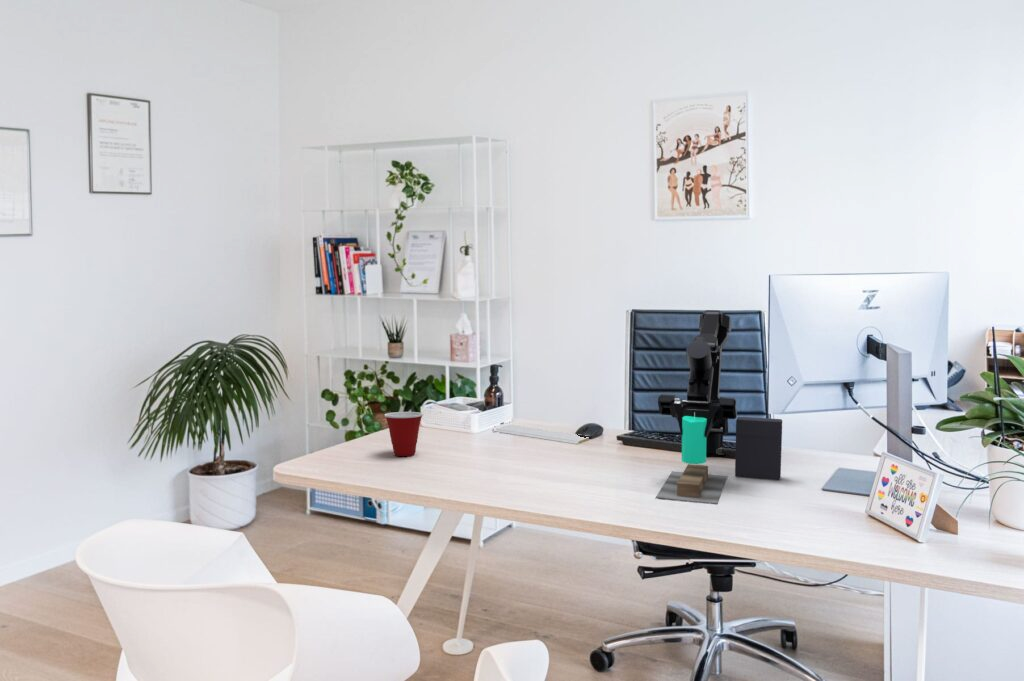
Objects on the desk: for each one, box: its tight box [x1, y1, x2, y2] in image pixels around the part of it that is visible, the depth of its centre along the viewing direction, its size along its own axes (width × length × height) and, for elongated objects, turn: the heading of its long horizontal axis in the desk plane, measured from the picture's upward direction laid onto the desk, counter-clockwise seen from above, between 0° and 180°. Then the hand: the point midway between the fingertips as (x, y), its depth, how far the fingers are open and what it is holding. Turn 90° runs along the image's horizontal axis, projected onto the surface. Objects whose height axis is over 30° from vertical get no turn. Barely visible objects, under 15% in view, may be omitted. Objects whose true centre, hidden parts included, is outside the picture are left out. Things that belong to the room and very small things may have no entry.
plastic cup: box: [384, 411, 424, 458], centre depth 245 cm, size 11×11×12 cm
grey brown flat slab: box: [655, 463, 728, 505], centre depth 212 cm, size 24×14×3 cm, turn 161°
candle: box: [681, 412, 707, 465], centre depth 212 cm, size 6×6×12 cm
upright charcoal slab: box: [734, 416, 783, 481], centre depth 220 cm, size 11×4×15 cm, turn 71°
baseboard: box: [491, 421, 590, 446], centre depth 268 cm, size 30×3×10 cm
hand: (693, 435), depth 210 cm, fingers closed on candle, 5 cm apart
